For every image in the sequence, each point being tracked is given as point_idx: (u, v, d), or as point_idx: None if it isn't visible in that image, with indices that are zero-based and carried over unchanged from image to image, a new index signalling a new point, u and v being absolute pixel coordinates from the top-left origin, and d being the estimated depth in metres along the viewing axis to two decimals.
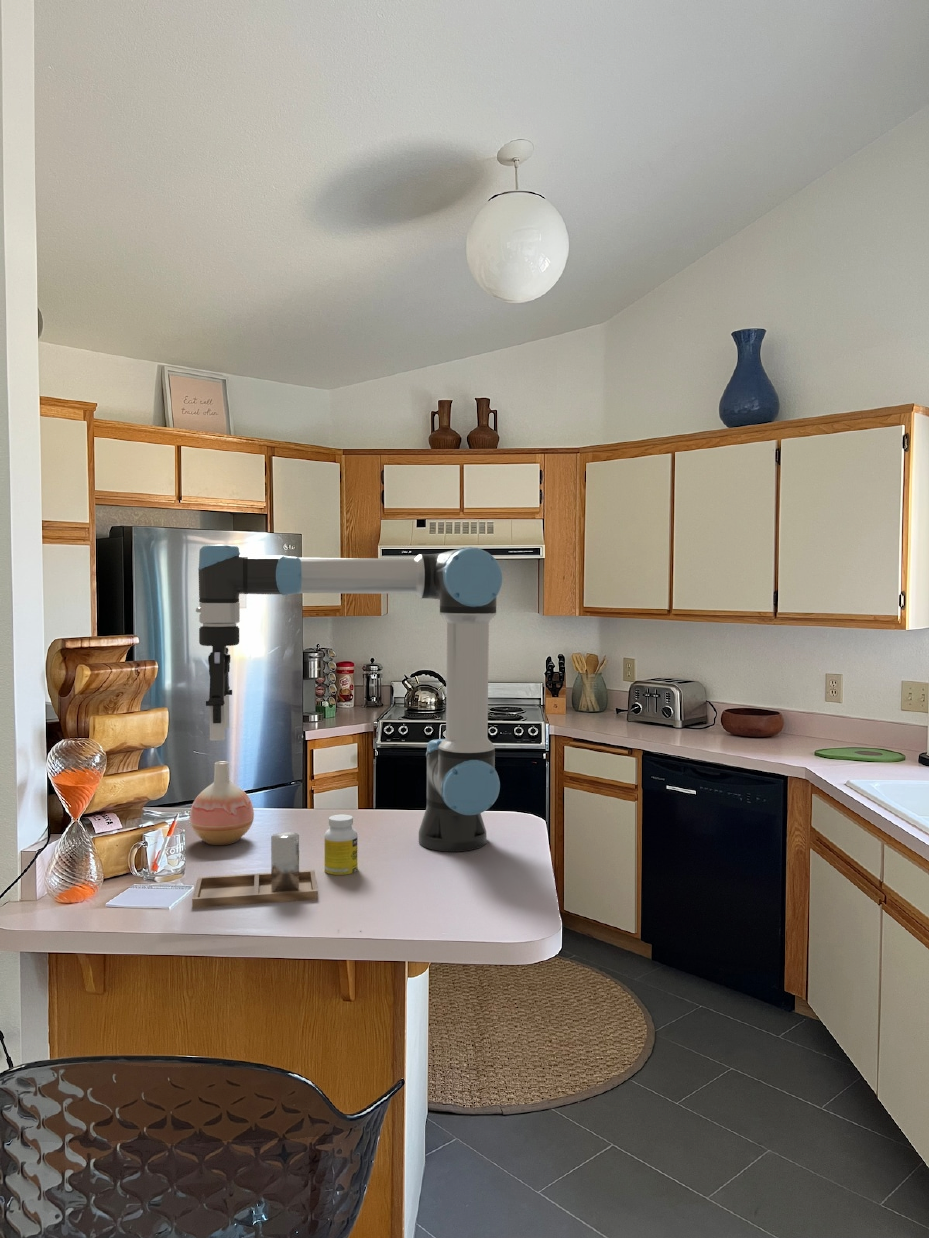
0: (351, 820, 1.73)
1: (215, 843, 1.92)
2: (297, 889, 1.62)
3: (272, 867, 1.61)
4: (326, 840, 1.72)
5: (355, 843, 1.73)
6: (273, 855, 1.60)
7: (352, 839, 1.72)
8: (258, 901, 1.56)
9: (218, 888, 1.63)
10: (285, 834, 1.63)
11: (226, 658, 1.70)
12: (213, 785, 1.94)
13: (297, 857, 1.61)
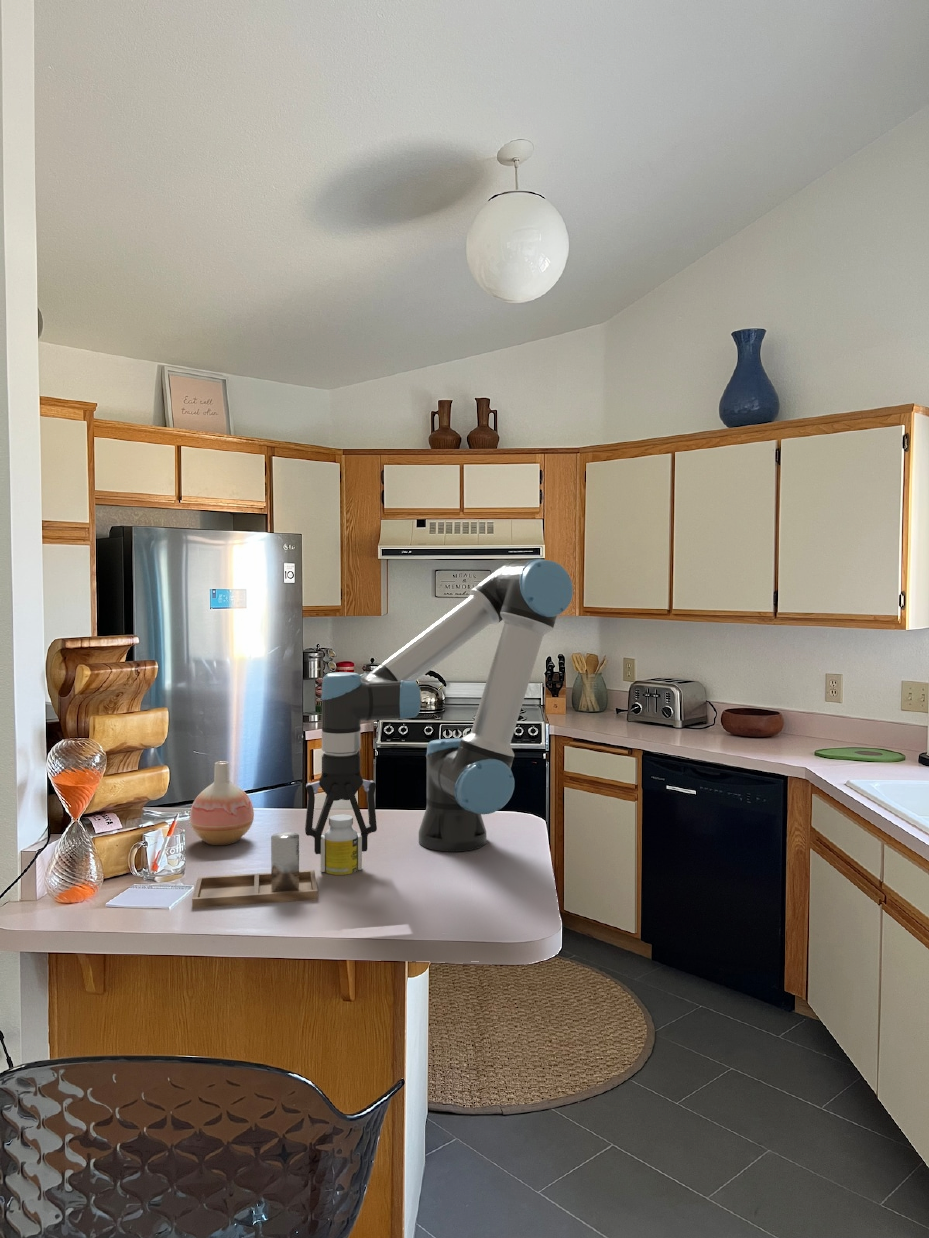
0: (351, 820, 1.73)
1: (215, 843, 1.92)
2: (297, 889, 1.62)
3: (272, 867, 1.61)
4: (326, 840, 1.72)
5: (355, 843, 1.73)
6: (273, 855, 1.60)
7: (352, 839, 1.72)
8: (258, 901, 1.56)
9: (218, 888, 1.63)
10: (285, 834, 1.63)
11: (331, 787, 1.71)
12: (213, 785, 1.94)
13: (297, 857, 1.61)
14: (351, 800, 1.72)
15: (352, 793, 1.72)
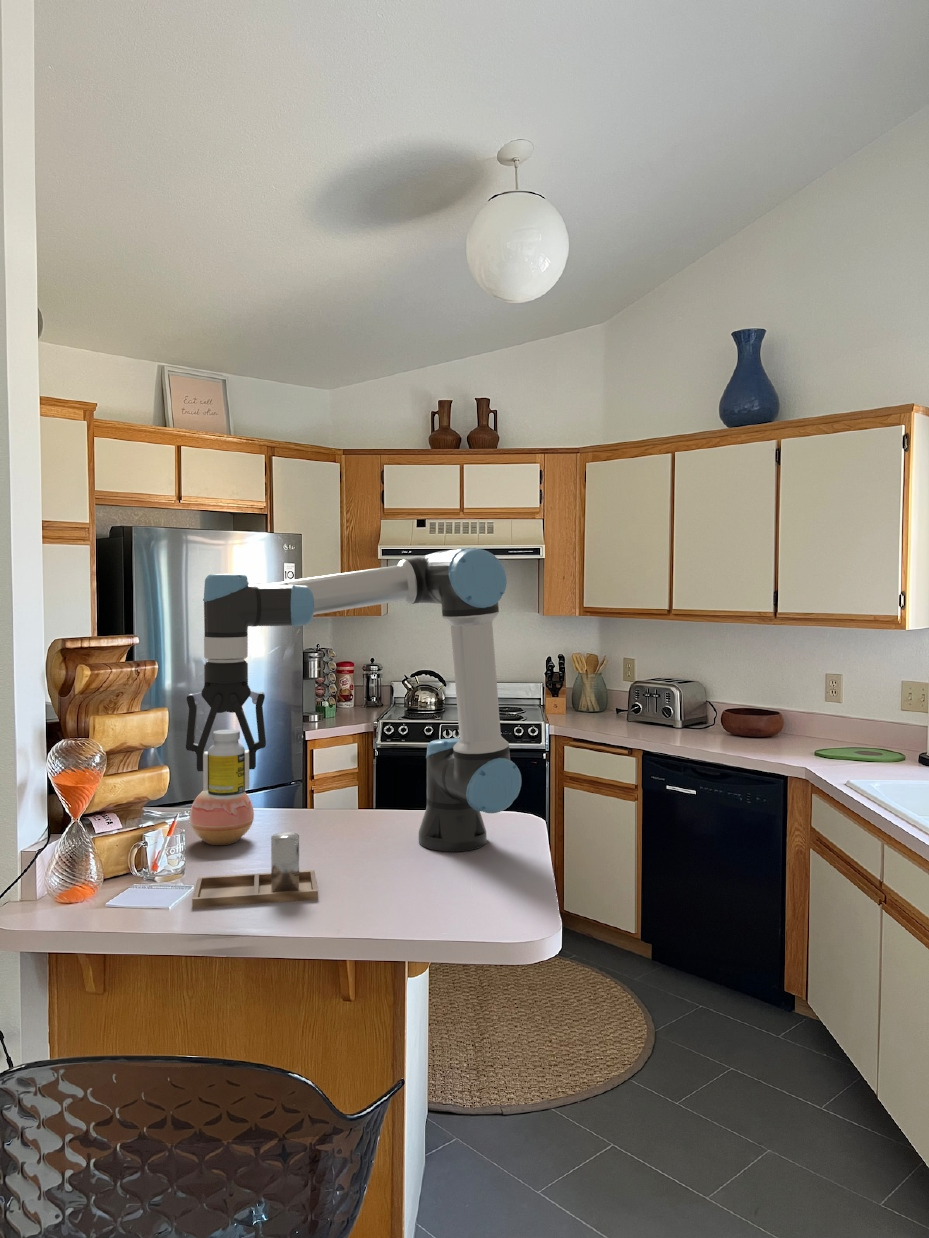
0: (237, 734, 1.58)
1: (215, 843, 1.92)
2: (297, 889, 1.62)
3: (272, 867, 1.61)
4: (209, 755, 1.57)
5: (241, 759, 1.58)
6: (273, 855, 1.60)
7: (237, 754, 1.57)
8: (258, 901, 1.56)
9: (218, 888, 1.63)
10: (285, 834, 1.63)
11: (214, 698, 1.57)
12: None
13: (297, 857, 1.61)
14: (236, 712, 1.57)
15: (237, 705, 1.57)
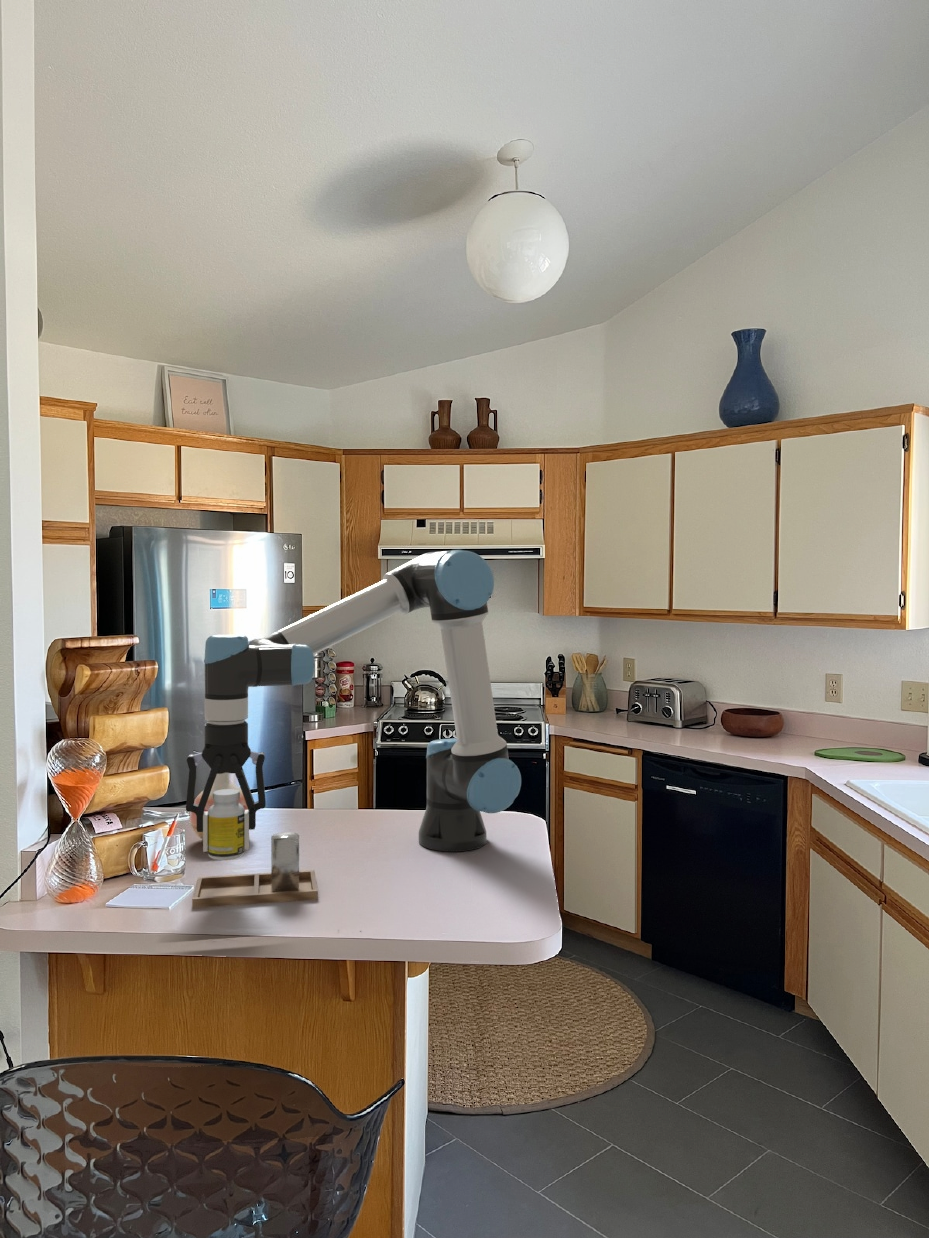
0: (237, 795, 1.59)
1: None
2: (297, 889, 1.62)
3: (272, 867, 1.61)
4: (209, 816, 1.58)
5: (241, 820, 1.58)
6: (273, 855, 1.60)
7: (237, 815, 1.58)
8: (258, 901, 1.56)
9: (218, 888, 1.63)
10: (285, 834, 1.63)
11: (214, 759, 1.57)
12: (213, 785, 1.94)
13: (297, 857, 1.61)
14: (236, 773, 1.58)
15: (238, 766, 1.58)
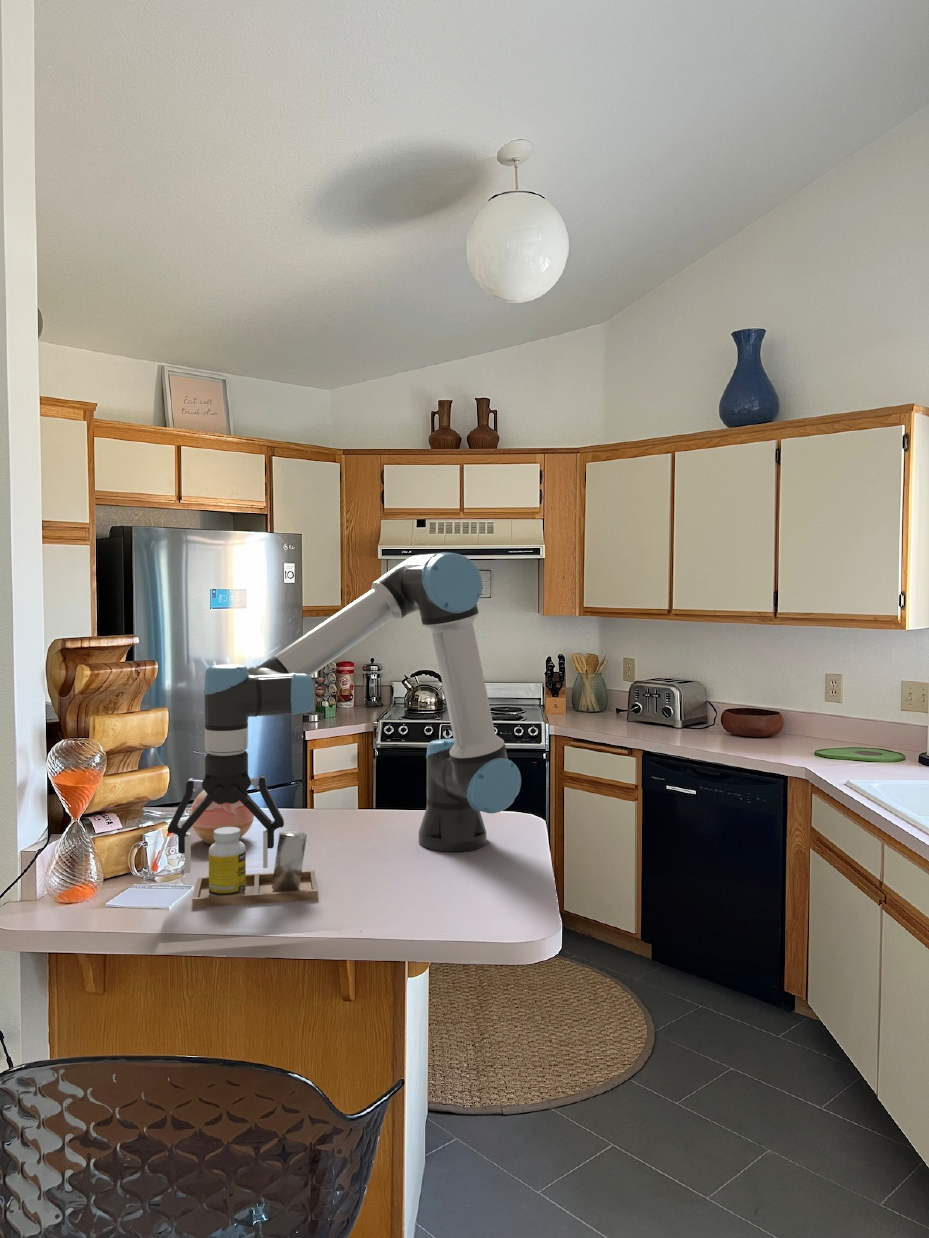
0: (238, 833, 1.59)
1: None
2: (297, 889, 1.62)
3: (276, 863, 1.61)
4: (210, 855, 1.58)
5: (242, 858, 1.59)
6: (279, 851, 1.61)
7: (238, 854, 1.58)
8: (258, 901, 1.56)
9: None
10: (293, 833, 1.63)
11: (214, 788, 1.57)
12: None
13: (302, 857, 1.62)
14: (242, 801, 1.58)
15: (240, 794, 1.58)
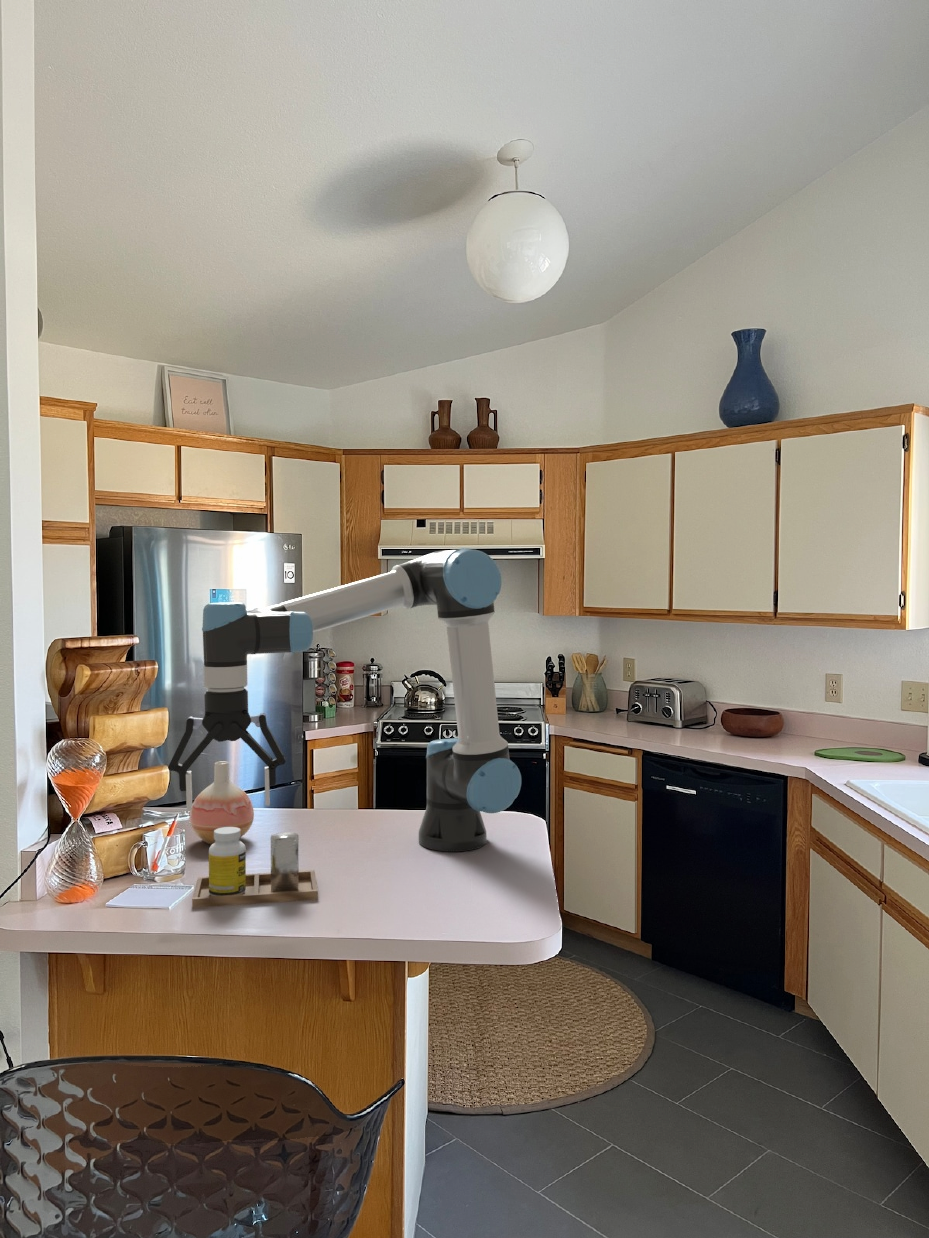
0: (238, 833, 1.59)
1: None
2: (296, 889, 1.62)
3: (271, 867, 1.61)
4: (210, 855, 1.58)
5: (242, 858, 1.59)
6: (272, 855, 1.60)
7: (238, 853, 1.58)
8: (258, 901, 1.56)
9: None
10: (284, 834, 1.63)
11: (214, 726, 1.57)
12: (213, 785, 1.94)
13: (296, 857, 1.61)
14: (243, 738, 1.58)
15: (241, 731, 1.58)
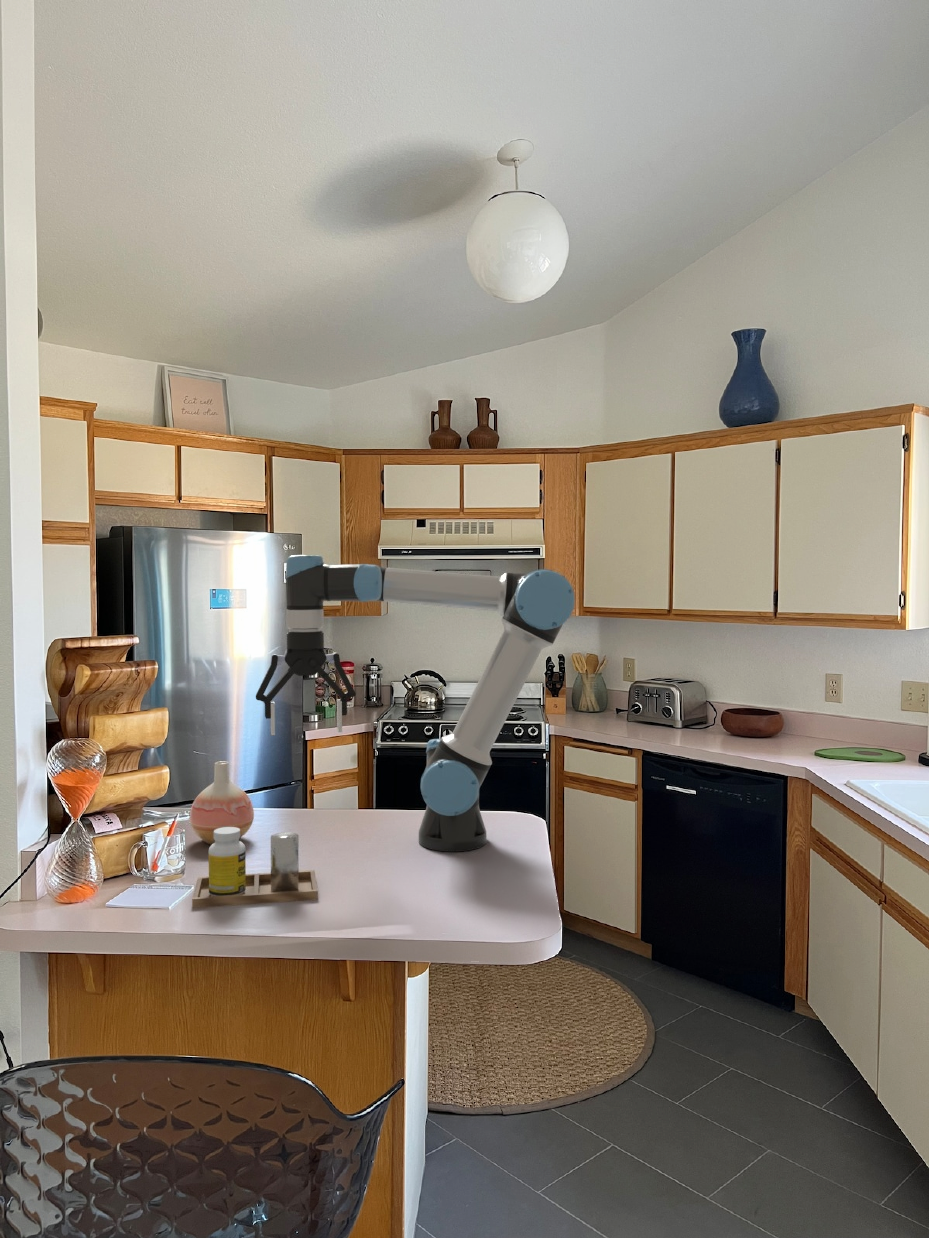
0: (237, 833, 1.59)
1: None
2: (296, 889, 1.62)
3: (271, 867, 1.61)
4: (209, 855, 1.58)
5: (242, 858, 1.59)
6: (272, 855, 1.60)
7: (238, 854, 1.58)
8: (258, 901, 1.56)
9: None
10: (284, 834, 1.63)
11: (296, 661, 1.81)
12: (213, 785, 1.94)
13: (296, 857, 1.61)
14: (320, 673, 1.82)
15: (318, 666, 1.82)
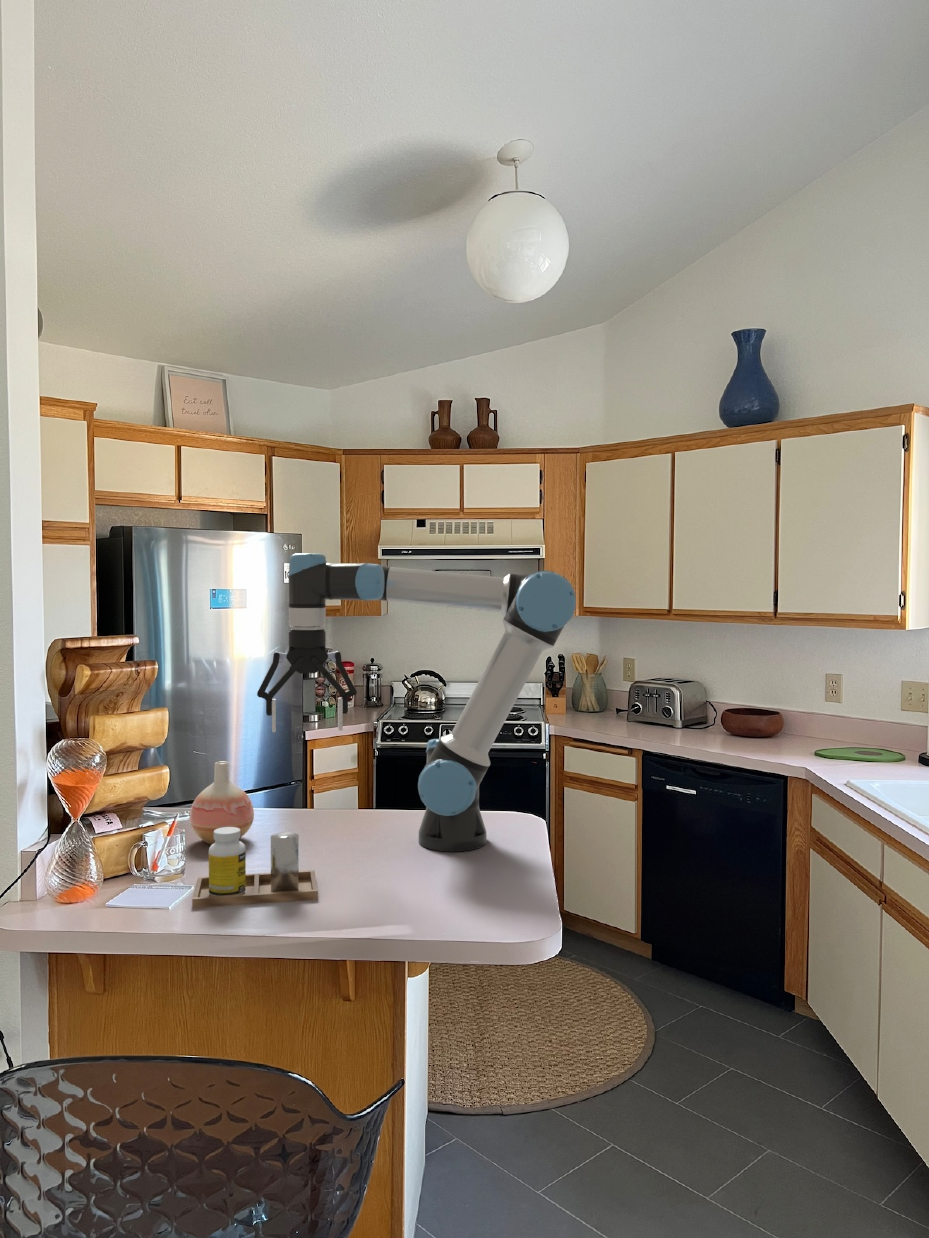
0: (238, 833, 1.59)
1: None
2: (296, 889, 1.62)
3: (271, 867, 1.61)
4: (210, 855, 1.58)
5: (242, 858, 1.59)
6: (272, 855, 1.60)
7: (238, 854, 1.58)
8: (258, 901, 1.56)
9: None
10: (284, 834, 1.63)
11: (297, 659, 1.82)
12: (213, 785, 1.94)
13: (296, 857, 1.61)
14: (321, 671, 1.83)
15: (320, 664, 1.82)
